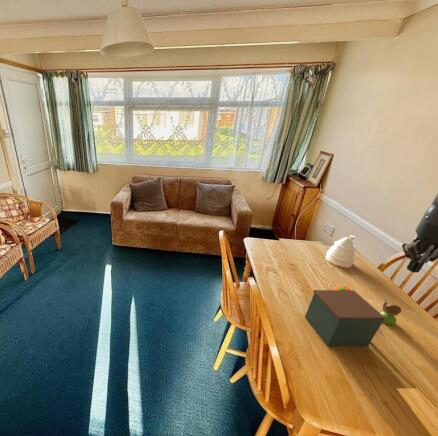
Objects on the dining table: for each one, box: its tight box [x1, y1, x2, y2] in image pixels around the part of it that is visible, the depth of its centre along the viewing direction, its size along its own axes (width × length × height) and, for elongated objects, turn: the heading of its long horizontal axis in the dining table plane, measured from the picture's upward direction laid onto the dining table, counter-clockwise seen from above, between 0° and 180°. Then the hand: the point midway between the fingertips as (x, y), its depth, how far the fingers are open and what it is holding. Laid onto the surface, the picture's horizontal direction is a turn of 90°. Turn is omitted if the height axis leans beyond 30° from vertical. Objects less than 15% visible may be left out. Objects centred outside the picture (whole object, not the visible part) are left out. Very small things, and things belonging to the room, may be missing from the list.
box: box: [304, 292, 384, 347], centre depth 92 cm, size 16×14×14 cm
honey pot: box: [325, 234, 357, 268], centre depth 136 cm, size 13×13×18 cm
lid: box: [313, 289, 385, 319], centre depth 89 cm, size 17×14×1 cm
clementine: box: [333, 285, 351, 290], centre depth 110 cm, size 8×7×7 cm
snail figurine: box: [380, 298, 402, 326], centre depth 96 cm, size 5×6×12 cm
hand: (412, 270), depth 72 cm, fingers closed
